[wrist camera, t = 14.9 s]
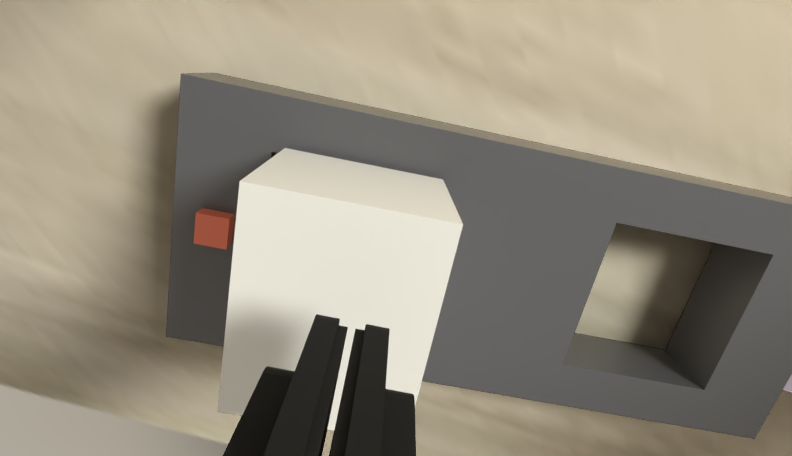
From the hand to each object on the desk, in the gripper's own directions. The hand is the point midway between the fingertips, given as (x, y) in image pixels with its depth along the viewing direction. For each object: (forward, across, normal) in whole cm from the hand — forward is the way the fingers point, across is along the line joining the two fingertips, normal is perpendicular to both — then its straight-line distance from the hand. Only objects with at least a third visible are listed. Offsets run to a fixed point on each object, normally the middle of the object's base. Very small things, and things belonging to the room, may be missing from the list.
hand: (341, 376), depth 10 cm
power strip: (+11, -6, 0) cm, 12 cm away
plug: (+11, +1, 0) cm, 11 cm away
